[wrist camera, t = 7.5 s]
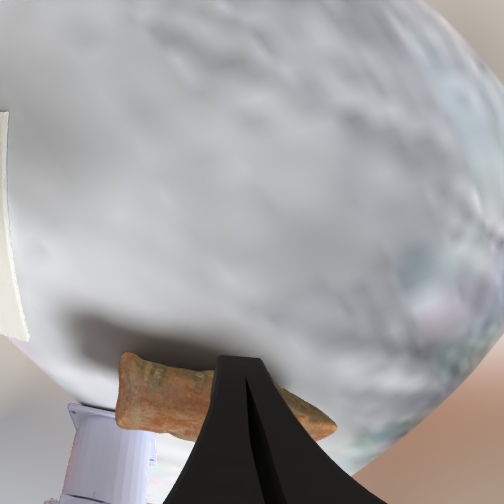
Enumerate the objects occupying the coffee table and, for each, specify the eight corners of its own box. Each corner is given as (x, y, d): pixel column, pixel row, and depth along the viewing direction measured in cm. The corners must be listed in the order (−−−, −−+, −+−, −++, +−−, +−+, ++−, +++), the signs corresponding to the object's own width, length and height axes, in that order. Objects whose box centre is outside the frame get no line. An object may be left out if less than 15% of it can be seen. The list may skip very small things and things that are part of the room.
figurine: (102, 361, 20) (275, 351, 28) (118, 469, 17) (292, 436, 24) (114, 337, 14) (341, 324, 21) (140, 500, 10) (365, 433, 18)
